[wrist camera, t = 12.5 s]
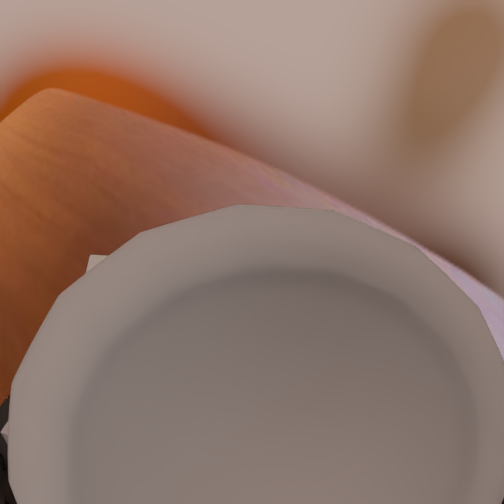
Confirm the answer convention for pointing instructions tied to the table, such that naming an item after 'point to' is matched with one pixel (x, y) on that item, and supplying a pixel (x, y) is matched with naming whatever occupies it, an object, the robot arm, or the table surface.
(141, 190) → the table surface
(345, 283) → the coffee cup
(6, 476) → the robot arm
